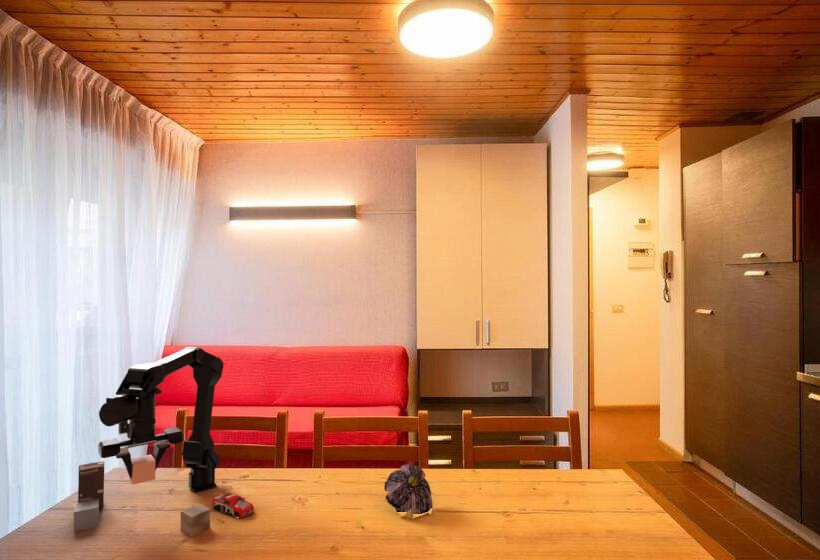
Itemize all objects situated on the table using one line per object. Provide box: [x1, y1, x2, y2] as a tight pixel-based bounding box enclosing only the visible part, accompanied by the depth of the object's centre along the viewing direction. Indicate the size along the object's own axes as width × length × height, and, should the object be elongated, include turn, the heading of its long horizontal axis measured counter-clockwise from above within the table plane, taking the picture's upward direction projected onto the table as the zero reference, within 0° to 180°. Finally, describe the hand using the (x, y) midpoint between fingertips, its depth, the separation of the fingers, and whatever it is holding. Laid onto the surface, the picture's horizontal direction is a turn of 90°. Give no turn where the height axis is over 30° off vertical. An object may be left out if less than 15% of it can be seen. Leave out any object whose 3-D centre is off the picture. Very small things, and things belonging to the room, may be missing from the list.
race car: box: [211, 492, 255, 519], centre depth 131 cm, size 13×5×4 cm, turn 61°
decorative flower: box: [383, 463, 434, 515], centre depth 134 cm, size 14×12×15 cm
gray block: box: [73, 499, 100, 532], centre depth 123 cm, size 5×5×5 cm
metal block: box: [180, 503, 211, 537], centre depth 121 cm, size 5×5×5 cm
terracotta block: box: [129, 453, 156, 486], centre depth 123 cm, size 5×5×5 cm
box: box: [77, 461, 105, 510], centre depth 131 cm, size 6×4×12 cm
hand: (142, 474), depth 123 cm, fingers closed on terracotta block, 5 cm apart
